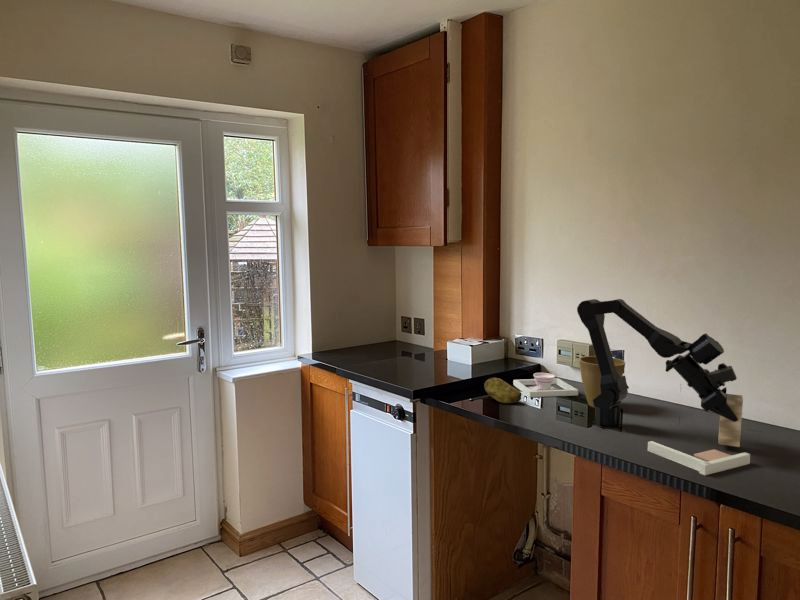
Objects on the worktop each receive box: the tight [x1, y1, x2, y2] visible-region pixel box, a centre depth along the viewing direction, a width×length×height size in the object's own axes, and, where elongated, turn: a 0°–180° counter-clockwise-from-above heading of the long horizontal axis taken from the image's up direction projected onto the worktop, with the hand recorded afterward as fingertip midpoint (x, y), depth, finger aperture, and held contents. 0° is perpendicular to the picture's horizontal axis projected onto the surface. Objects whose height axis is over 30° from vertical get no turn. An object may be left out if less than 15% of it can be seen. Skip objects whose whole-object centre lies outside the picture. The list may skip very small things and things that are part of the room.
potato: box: [483, 377, 522, 404], centre depth 207 cm, size 8×13×8 cm, turn 40°
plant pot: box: [579, 355, 626, 409], centre depth 201 cm, size 15×15×16 cm
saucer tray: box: [512, 377, 579, 398], centre depth 223 cm, size 18×18×2 cm
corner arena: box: [647, 440, 751, 476], centre depth 154 cm, size 18×17×2 cm
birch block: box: [717, 393, 744, 448], centre depth 160 cm, size 5×5×13 cm
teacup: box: [528, 372, 560, 391], centre depth 222 cm, size 12×12×6 cm
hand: (736, 418), depth 160 cm, fingers closed on birch block, 5 cm apart
